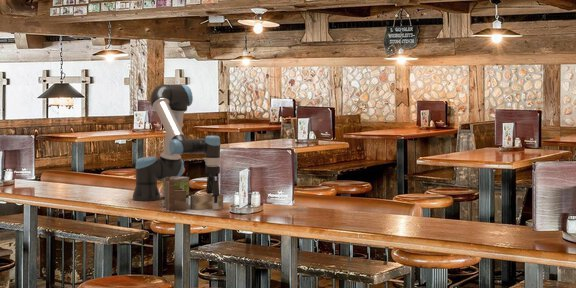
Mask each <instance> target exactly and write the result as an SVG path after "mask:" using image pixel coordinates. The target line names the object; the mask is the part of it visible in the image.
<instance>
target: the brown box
mask: <svg viewBox="0 0 576 288" xmlns="http://www.w3.org/2000/svg"><path fill="white" fill-rule="evenodd" d="M165 208H166V211H168V210H169V211H168V212H186V211H187V204H186V191H185V190H182V188H174V179H170V177H165V206H164V209H165Z"/></svg>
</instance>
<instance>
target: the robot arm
mask: <svg viewBox="0 0 576 288" xmlns="http://www.w3.org/2000/svg"><path fill="white" fill-rule="evenodd" d="M149 96H150V97H149V102H150V106H151V108H152V110H153V111H154V112H156V114H157V115H158V118H159V119H160V122H161V124H162V126H163V128H164V129H165V133H164V134H165V135H164V142H163V143H164V144H163V152H161V153H160V154H159V158H158V156H145V157H140V158H139V157H138V159H136V161H135V186H134V190H133V193H132V200H133V201H138V202H139V201H140V202H141V201H142V202H152V201H160V200H161V193H160V191H159V187H158V181H161V180H162V181H163V179H164V178H165V177H182V175H183V173H184V170H185V165H184V163H185V162H184V160H183V158H182V156H181V155H187V154H188V155H190V154H191V155H192V154H193V155H194V154H204V155H205V159H204V162H205V164H204V165H205V167H204V168H205V170H204V173H205V174H207V175H206V176H207V177H206V188H205V192H206V194H213V195H212V197H213V209H212V210H219V209H218V196H219V194H220V188H219V176H217V175H218V174H221V167H220V166H221V138H220V136H219V135H206V136H205V138H186V136H185V134H184V132H183V121H184V117H185V116H184V113H186V112H187V110H188V107H190V106H191V105H192V104H193V99H194V98H193V92H192V89H191V88H190V87H189V85H186V84H177V83H176V84H175V83H174V84H159V85H157V86H156V87H154V88H153V90H152V91H151V94H150V95H149Z"/></svg>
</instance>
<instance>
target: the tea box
mask: <svg viewBox="0 0 576 288" xmlns="http://www.w3.org/2000/svg"><path fill="white" fill-rule="evenodd" d="M170 179H174V188H182V190H185V191H186V205H189V203H190V202H189V201H190V197H189V196H190V176H181V177H170ZM161 204H162V205H161V206H162V207H165V178H164V179H163V180H162V203H161Z"/></svg>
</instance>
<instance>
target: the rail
mask: <svg viewBox="0 0 576 288" xmlns="http://www.w3.org/2000/svg"><path fill="white" fill-rule="evenodd" d="M212 195H213V193H211V194H207V193H206V194H203V193H202V194H198V193H197V194H189V196H190V197H189V201H190V202H189V203H190V207H189V208H190V209H191V210H192V209H194V210H214V209H213V197H212ZM220 209H224V194H222V193H219V196H218V209H217V210H220Z"/></svg>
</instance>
